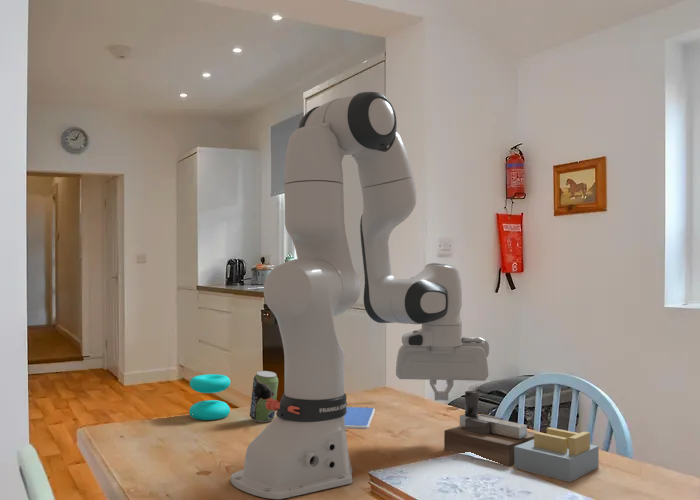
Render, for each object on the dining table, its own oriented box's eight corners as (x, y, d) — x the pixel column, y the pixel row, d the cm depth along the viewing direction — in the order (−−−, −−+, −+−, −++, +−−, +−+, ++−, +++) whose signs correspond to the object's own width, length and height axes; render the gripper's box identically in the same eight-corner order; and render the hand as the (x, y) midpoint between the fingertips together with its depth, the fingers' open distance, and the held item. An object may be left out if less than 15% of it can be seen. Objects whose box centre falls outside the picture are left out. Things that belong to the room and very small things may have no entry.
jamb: (508, 466, 119) (508, 432, 119) (444, 449, 129) (444, 418, 130) (539, 453, 127) (539, 421, 128) (476, 439, 138) (476, 409, 138)
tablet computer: (368, 431, 146) (368, 425, 146) (315, 429, 147) (315, 423, 148) (375, 412, 165) (375, 407, 165) (328, 410, 167) (328, 405, 167)
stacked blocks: (570, 482, 110) (570, 442, 110) (514, 467, 118) (514, 430, 118) (598, 467, 119) (598, 430, 119) (544, 454, 127) (544, 420, 127)
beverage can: (261, 416, 157) (262, 368, 158) (283, 420, 153) (284, 371, 153) (243, 421, 152) (244, 371, 153) (265, 425, 148) (266, 375, 148)
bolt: (519, 438, 122) (519, 402, 123) (459, 425, 132) (459, 391, 132) (526, 436, 125) (527, 399, 125) (467, 423, 134) (467, 389, 135)
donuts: (234, 378, 154) (192, 381, 151) (233, 419, 154) (192, 422, 150) (226, 372, 164) (187, 374, 160) (225, 410, 163) (186, 413, 160)
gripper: (486, 336, 141) (486, 398, 140) (395, 335, 142) (395, 396, 141) (491, 339, 134) (491, 404, 134) (396, 338, 135) (395, 402, 135)
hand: (441, 400), depth 138 cm, fingers closed
